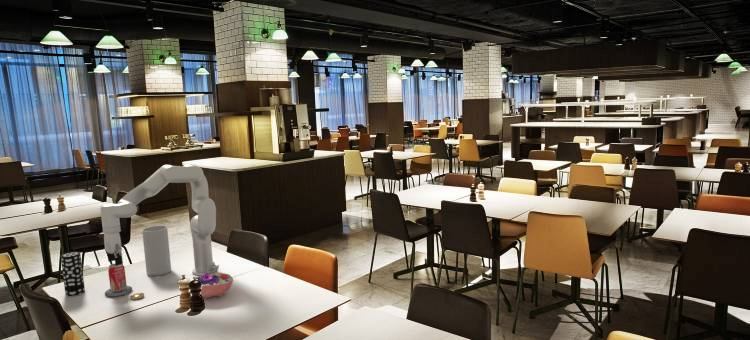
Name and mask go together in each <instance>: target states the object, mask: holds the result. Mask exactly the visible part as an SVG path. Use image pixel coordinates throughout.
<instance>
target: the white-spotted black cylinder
mask: <svg viewBox="0 0 750 340" xmlns="http://www.w3.org/2000/svg"><path fill="white" fill-rule="evenodd" d="M60 263H61V271H62V279H63V286H64V293H65V294H64V295H65V296H66V297H76V296H79V295H82V294H84V293H86V289H85V280H84V279H85V278H84V271H83V264H82V257H81V252H80V251H70V252H66V253H63V254H61V255H60Z"/></svg>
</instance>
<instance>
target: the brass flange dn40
mask: <svg viewBox="0 0 750 340" xmlns="http://www.w3.org/2000/svg"><path fill="white" fill-rule="evenodd" d="M129 298H130V300H131V301H138V300H141V299H143V298H145V293H143V292H137V293H133V294H131V295H130V296H129Z"/></svg>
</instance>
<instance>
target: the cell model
mask: <svg viewBox="0 0 750 340" xmlns="http://www.w3.org/2000/svg"><path fill="white" fill-rule="evenodd" d="M195 278H196V279H198V280H199V281H201V283H202V289H201V295H202V296H203V297H202V298H213V297H222V296H224V295H225V294H227V292H229V291H230V289H231V287H232V285H233V281H234V277H232V276H231V274H228V273H223V272H219V273H218V272H217V273H210V274H208V273H203V274H202V275H197V276H196V277H195Z"/></svg>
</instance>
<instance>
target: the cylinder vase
mask: <svg viewBox="0 0 750 340" xmlns="http://www.w3.org/2000/svg"><path fill="white" fill-rule="evenodd" d="M141 231H142V240H143V251H144V260H145V261H144V262H145V263H144V264H145V269H146V270H145V271H146V274H147V276H150V277H156V276H157V277H158V276H162V275H167V274H168V273H170V272H171V271H172V263H171V254H170V242H169V231H168V226H167V225H153V226H147V227H144V228H142V230H141Z"/></svg>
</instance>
